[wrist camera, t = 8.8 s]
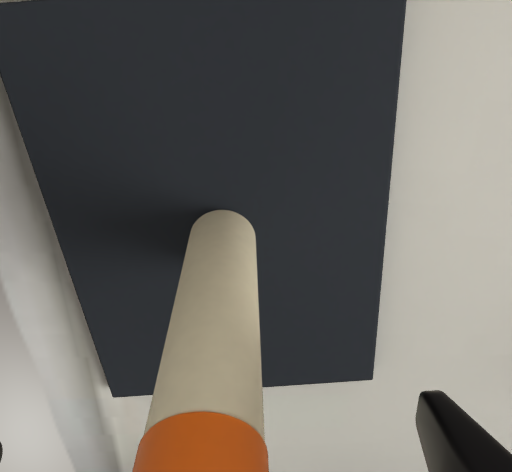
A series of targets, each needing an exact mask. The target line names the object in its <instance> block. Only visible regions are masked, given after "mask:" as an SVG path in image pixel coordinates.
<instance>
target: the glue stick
mask: <svg viewBox="0 0 512 472" xmlns="http://www.w3.org/2000/svg"><path fill="white" fill-rule="evenodd" d="M133 472H269V469H268V451H267V447H266V445H265V439H264V416H263V393H262V370H261V348H260V325H259V302H258V279H257V257H256V236H255V232H254V229H253V227H252V225H251V224H250V222H249V221H248V220H247V219H246V218H244V217H243V216H242V215H240V214H238V213H236V212H233V211H229V210H215V211H211V212H208V213H206V214H204V215H202V216H201V217H200V218H199V219H198V220H197V221H196V222H195V223H194V225H193V226H192V229H191V232H190V236H189V240H188V245H187V249H186V254H185V258H184V262H183V267H182V271H181V275H180V280H179V284H178V288H177V293H176V297H175V301H174V306H173V310H172V315H171V319H170V323H169V328H168V332H167V336H166V341H165V345H164V349H163V354H162V358H161V363H160V367H159V371H158V376H157V380H156V384H155V389H154V393H153V397H152V402H151V406H150V411H149V415H148V419H147V424H146V428H145V432H144V436H143V438H142V439H141V441H140V444H139V446H138V451H137V455H136V459H135V463H134V468H133Z"/></svg>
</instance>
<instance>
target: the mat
mask: <svg viewBox="0 0 512 472" xmlns="http://www.w3.org/2000/svg"><path fill="white" fill-rule="evenodd" d="M405 10H406V0H31V1H19V2H7V3H0V74H1V77H2V80H3V83H4V86H5V89H6V92H7V94H8V97H9V100H10V103H11V106H12V109H13V112H14V114H15V117H16V120H17V123H18V126H19V129H20V132H21V135H22V137H23V140H24V143H25V146H26V149H27V152H28V155H29V158H30V160H31V163H32V166H33V169H34V172H35V175H36V178H37V181H38V183H39V186H40V189H41V192H42V195H43V198H44V201H45V204H46V206H47V209H48V212H49V215H50V218H51V221H52V224H53V227H54V229H55V232H56V235H57V238H58V241H59V244H60V247H61V249H62V252H63V255H64V258H65V261H66V264H67V267H68V270H69V272H70V275H71V278H72V281H73V284H74V287H75V290H76V293H77V295H78V298H79V301H80V304H81V307H82V310H83V313H84V316H85V318H86V321H87V324H88V327H89V330H90V333H91V336H92V339H93V341H94V344H95V347H96V350H97V353H98V356H99V359H100V362H101V364H102V367H103V370H104V373H105V376H106V379H107V382H108V385H109V387H110V390H111V393H112V396H113V397H128V396H142V395H153V393H154V389H155V384H156V380H157V376H158V371H159V367H160V363H161V358H162V354H163V349H164V345H165V341H166V336H167V332H168V328H169V323H170V319H171V315H172V310H173V306H174V301H175V297H176V293H177V288H178V284H179V280H180V275H181V271H182V267H183V262H184V258H185V254H186V249H187V245H188V240H189V236H190V232H191V229H192V226H193V225H194V223H195V222H196V221H197V220H198V219H199V218H200V217H201V216H202V215H204V214H206V213H208V212H211V211H215V210H229V211H233V212H236V213H238V214H240V215H242V216H243V217H244V218H246V219H247V220H248V221H249V222H250V224H251V225H252V227H253V229H254V232H255V236H256V257H257V279H258V302H259V325H260V348H261V370H262V387H274V386H289V385H303V384H318V383H333V382H347V381H362V380H372V379H373V370H374V358H375V347H376V336H377V325H378V313H379V302H380V291H381V280H382V268H383V257H384V246H385V235H386V223H387V212H388V201H389V190H390V178H391V167H392V156H393V145H394V134H395V122H396V111H397V100H398V89H399V77H400V66H401V55H402V44H403V32H404V21H405Z"/></svg>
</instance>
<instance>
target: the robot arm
mask: <svg viewBox="0 0 512 472" xmlns="http://www.w3.org/2000/svg"><path fill="white" fill-rule="evenodd" d="M416 427H417V431H418V435H419V438H420V442H421V445H422V449H423V453H424V456H425V460H426V463H427V467H428V471H429V472H512V454H511V453H510V452H509V451H507V450H506V449H505V448H504V447H503V446H502V445H501V444H500V443H499V442H498V441H496V440H495V439H494V438H493V437H492V436H491V435H490V434H489V433H488V432H487V431H486V430H484V429H483V428H482V427H481V426H480V425H479V424H478V423H477V422H476V421H475V420H473V419H472V418H471V417H470V416H469V415H468V414H467V413H466V412H465V411H464V410H462V409H461V408H460V407H459V406H458V405H457V404H456V403H455V402H454V401H453V400H452V399H450V398H449V397H448V396H447V395H446V394H445V393H444V392H442V391H439V390H435V391H423V392H421V393H420V396H419V401H418V406H417V412H416ZM1 458H2V444H1V442H0V461H1Z"/></svg>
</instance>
